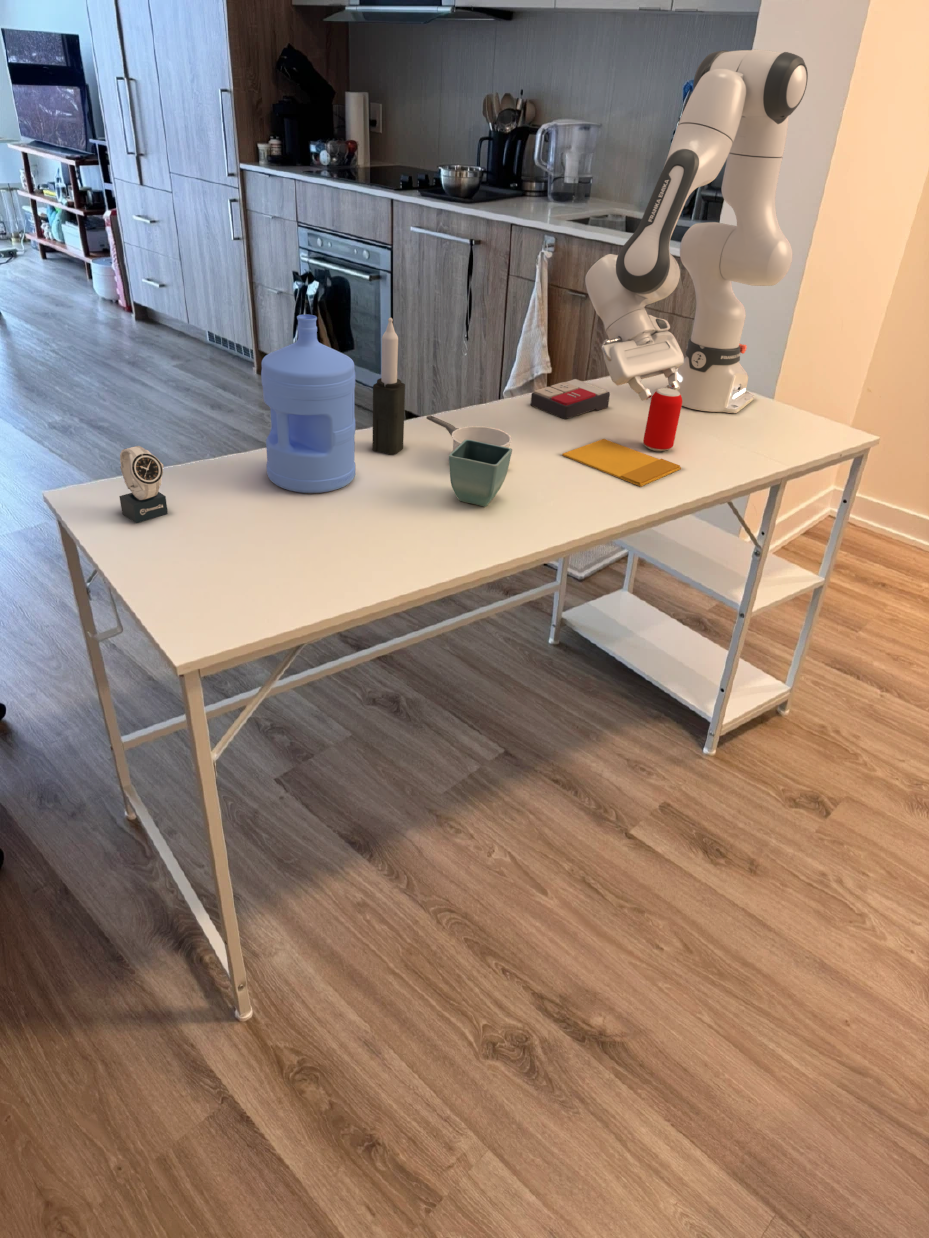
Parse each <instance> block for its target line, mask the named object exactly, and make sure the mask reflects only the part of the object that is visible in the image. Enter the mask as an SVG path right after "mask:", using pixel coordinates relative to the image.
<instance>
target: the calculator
mask: <svg viewBox="0 0 929 1238" xmlns="http://www.w3.org/2000/svg"><path fill="white" fill-rule="evenodd" d="M530 395H531V396H530V406H531V407H534V408H536V409H538V410H541V411H544V412H546V413H549V414H551V415H552V416H555V417H558V418H561V419H562V420H568V419H571V418H573V417H577V416H579V415H583V414H585V413H588V412H591V411H594V410H595V411H601V410H604V409H607V408H609V403H610V395H611V392H610V391H608V390H607V389H604V388H601V387H599V386H596V385H594V384H591V383H587V382H585V381H583V380H579V379H577V378H574V379H571V380H568V381H562V382H557V383H556V384H552V385H550V386H545V387H543V388H540V389H535V390H534V391H533V392H531V394H530Z"/></svg>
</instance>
